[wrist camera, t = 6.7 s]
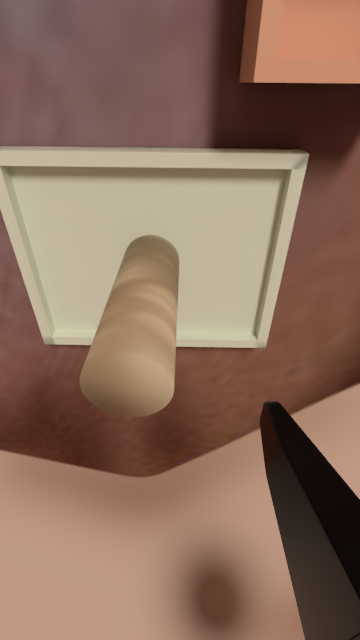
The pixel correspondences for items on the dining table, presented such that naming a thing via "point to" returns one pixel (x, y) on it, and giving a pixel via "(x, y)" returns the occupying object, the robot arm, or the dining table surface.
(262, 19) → the orange open box
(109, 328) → the dowel
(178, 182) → the tray
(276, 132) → the dining table surface
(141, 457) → the dining table surface
